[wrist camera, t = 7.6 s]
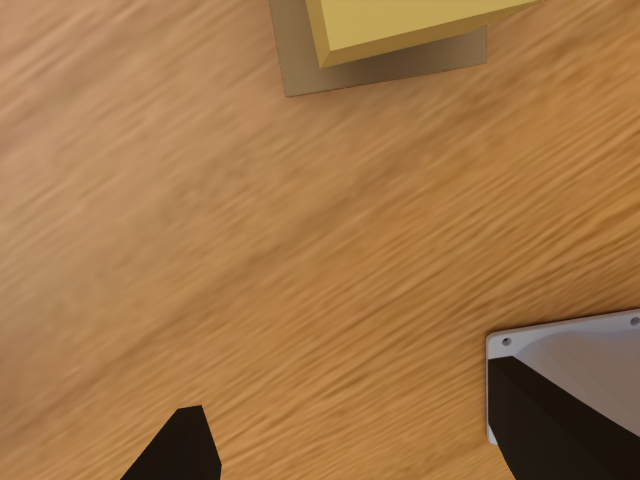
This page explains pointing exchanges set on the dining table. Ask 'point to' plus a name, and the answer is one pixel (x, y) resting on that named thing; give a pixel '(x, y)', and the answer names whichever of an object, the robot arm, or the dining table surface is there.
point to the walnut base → (399, 64)
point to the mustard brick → (396, 24)
